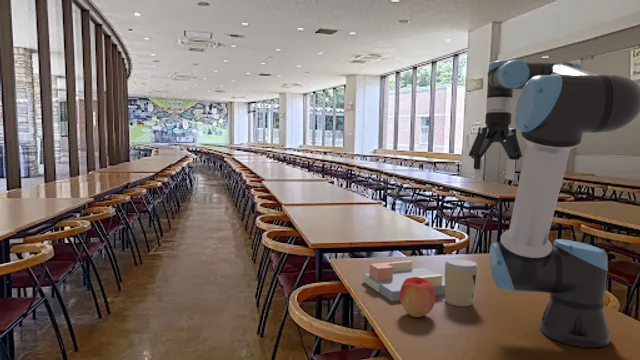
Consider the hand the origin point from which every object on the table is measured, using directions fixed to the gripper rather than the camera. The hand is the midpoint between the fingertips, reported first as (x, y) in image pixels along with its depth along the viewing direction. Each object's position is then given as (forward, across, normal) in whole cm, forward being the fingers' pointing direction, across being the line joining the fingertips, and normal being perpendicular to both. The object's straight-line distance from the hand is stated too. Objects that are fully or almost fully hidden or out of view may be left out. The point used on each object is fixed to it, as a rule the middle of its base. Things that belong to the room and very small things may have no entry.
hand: (494, 179), depth 140 cm
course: (+36, +23, -11) cm, 44 cm away
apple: (+36, +35, +8) cm, 51 cm away
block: (+33, +31, -15) cm, 48 cm away
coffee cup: (+36, +17, +5) cm, 40 cm away
